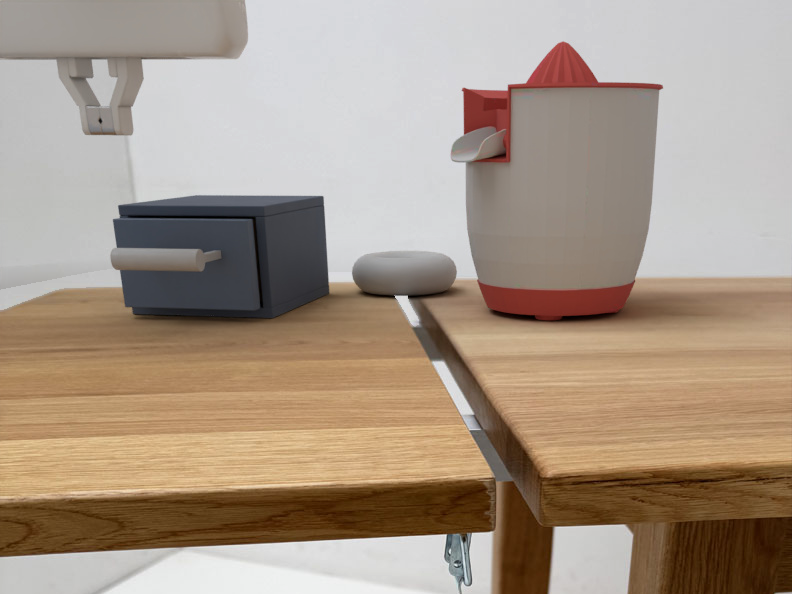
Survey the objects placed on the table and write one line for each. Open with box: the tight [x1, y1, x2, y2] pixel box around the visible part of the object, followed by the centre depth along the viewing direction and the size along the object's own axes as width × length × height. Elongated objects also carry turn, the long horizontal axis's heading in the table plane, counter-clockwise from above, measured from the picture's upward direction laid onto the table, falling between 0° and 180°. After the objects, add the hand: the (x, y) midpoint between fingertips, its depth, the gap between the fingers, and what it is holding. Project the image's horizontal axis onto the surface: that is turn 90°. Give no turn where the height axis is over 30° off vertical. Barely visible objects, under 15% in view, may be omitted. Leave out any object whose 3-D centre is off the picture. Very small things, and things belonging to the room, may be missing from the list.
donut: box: [351, 250, 458, 297], centre depth 97 cm, size 10×3×10 cm
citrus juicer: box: [450, 40, 664, 321], centre depth 82 cm, size 16×17×20 cm
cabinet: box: [117, 194, 330, 319], centre depth 90 cm, size 15×13×9 cm
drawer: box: [109, 216, 263, 311], centre depth 85 cm, size 18×11×7 cm, turn 168°
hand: (108, 135), depth 70 cm, fingers closed
